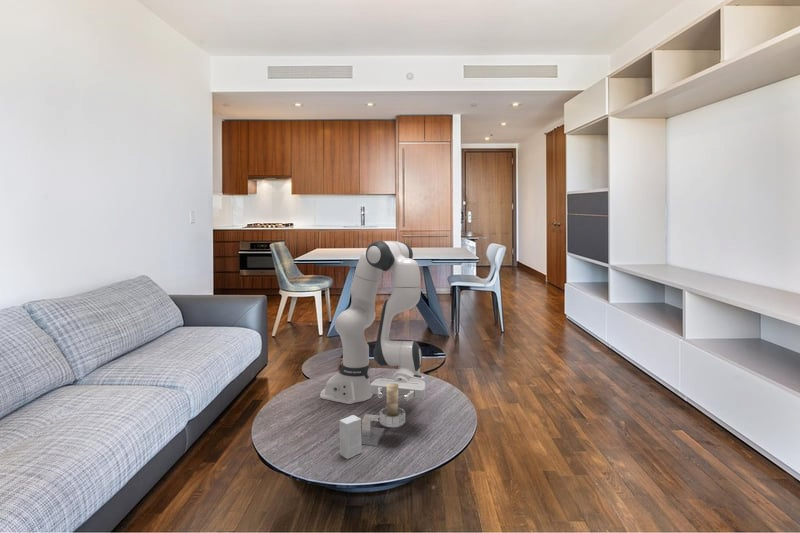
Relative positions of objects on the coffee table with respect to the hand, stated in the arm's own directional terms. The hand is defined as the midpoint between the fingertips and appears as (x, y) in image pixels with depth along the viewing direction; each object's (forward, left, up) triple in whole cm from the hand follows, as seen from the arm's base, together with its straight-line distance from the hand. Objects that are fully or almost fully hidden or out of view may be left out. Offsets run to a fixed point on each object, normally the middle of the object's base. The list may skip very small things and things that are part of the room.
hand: (392, 396), depth 160 cm
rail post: (0, -1, -7) cm, 7 cm away
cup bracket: (-5, -1, -15) cm, 16 cm away
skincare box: (-11, -13, -16) cm, 23 cm away
